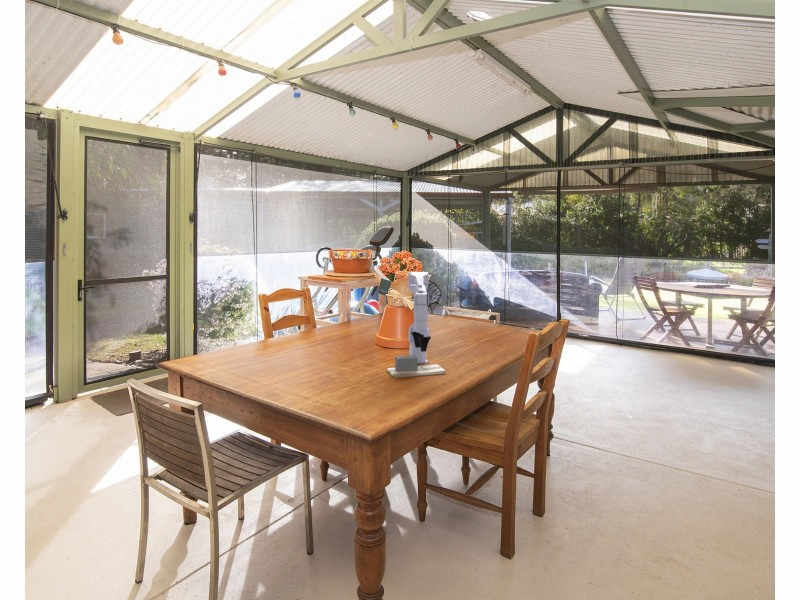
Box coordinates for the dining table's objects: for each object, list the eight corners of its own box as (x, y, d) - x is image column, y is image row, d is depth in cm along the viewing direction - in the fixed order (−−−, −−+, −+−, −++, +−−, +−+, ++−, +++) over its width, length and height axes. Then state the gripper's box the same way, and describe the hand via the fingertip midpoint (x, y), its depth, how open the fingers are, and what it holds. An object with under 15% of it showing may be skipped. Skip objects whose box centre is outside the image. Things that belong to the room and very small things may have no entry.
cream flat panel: (386, 370, 220) (386, 368, 220) (436, 366, 227) (436, 364, 227) (393, 377, 210) (393, 375, 210) (446, 373, 217) (446, 370, 217)
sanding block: (395, 369, 219) (395, 356, 218) (414, 368, 220) (414, 355, 220) (397, 372, 214) (397, 359, 213) (417, 371, 216) (417, 357, 215)
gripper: (435, 322, 213) (434, 352, 215) (423, 316, 227) (423, 345, 229) (419, 323, 211) (419, 353, 213) (409, 317, 225) (409, 346, 227)
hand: (420, 349), depth 221 cm, fingers open, 7 cm apart
